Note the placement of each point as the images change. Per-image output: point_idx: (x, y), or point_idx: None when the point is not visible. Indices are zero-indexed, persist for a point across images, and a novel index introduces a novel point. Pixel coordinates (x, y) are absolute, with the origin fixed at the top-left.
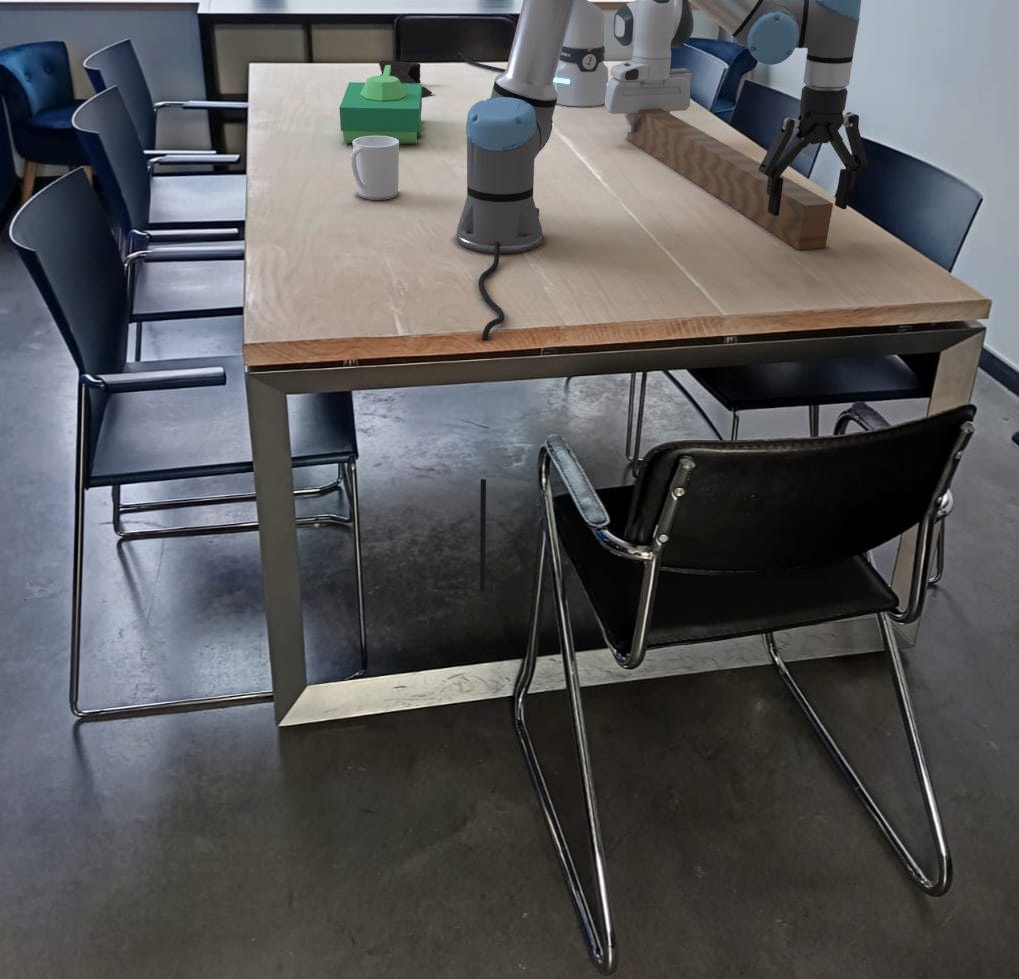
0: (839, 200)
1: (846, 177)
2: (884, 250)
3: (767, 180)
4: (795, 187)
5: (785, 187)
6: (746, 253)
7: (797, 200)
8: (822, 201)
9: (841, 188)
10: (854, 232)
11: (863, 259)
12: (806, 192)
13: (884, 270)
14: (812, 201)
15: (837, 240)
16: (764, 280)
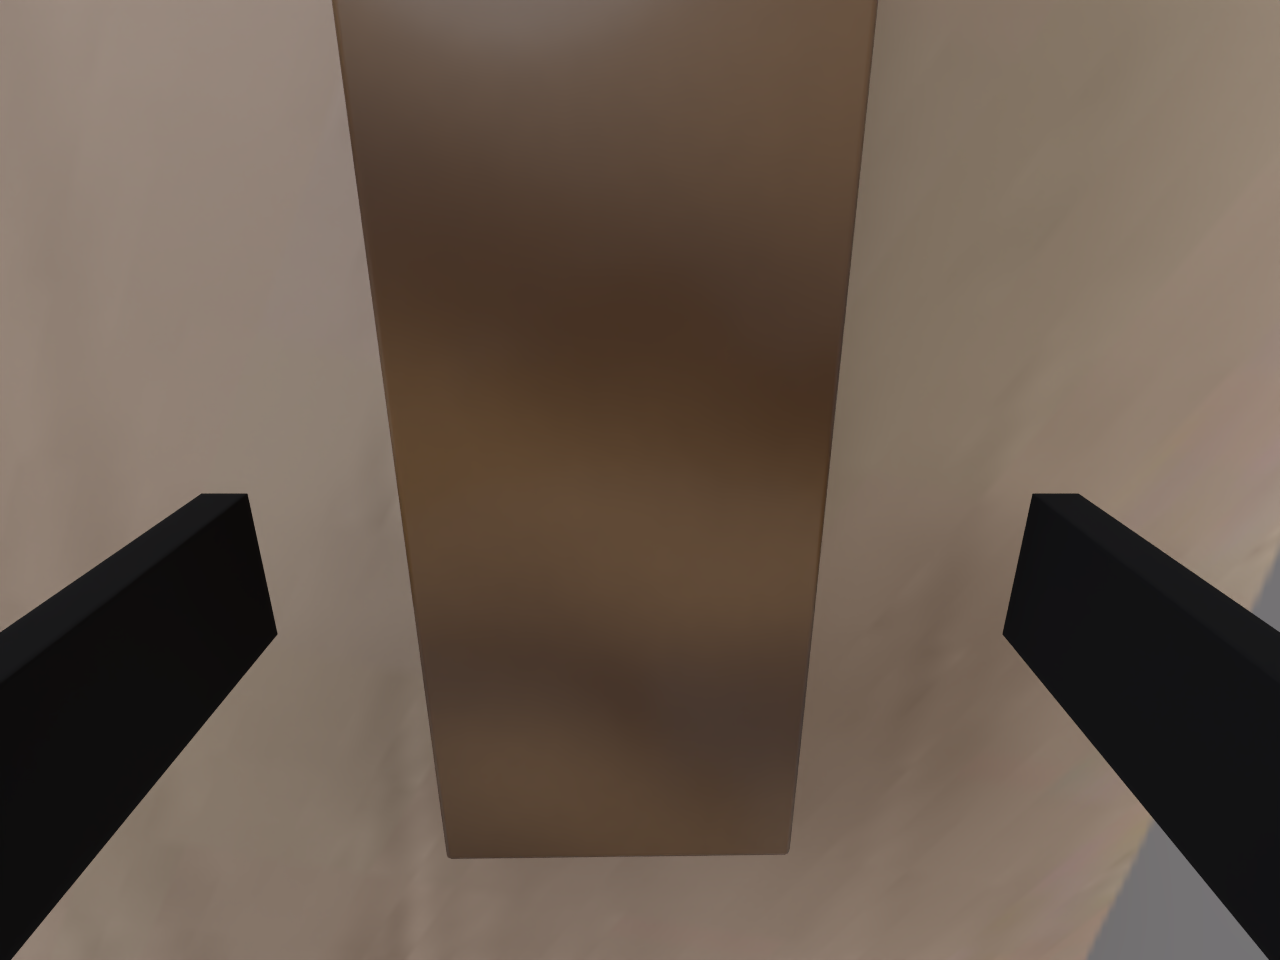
0: (1057, 595)
1: (1263, 897)
2: (1060, 707)
3: None
4: (716, 162)
5: (544, 125)
6: None
7: (441, 706)
8: (716, 784)
9: (1145, 688)
10: (1164, 355)
11: (828, 797)
12: (734, 447)
13: (825, 929)
14: (599, 769)
15: (906, 487)
16: (135, 923)
